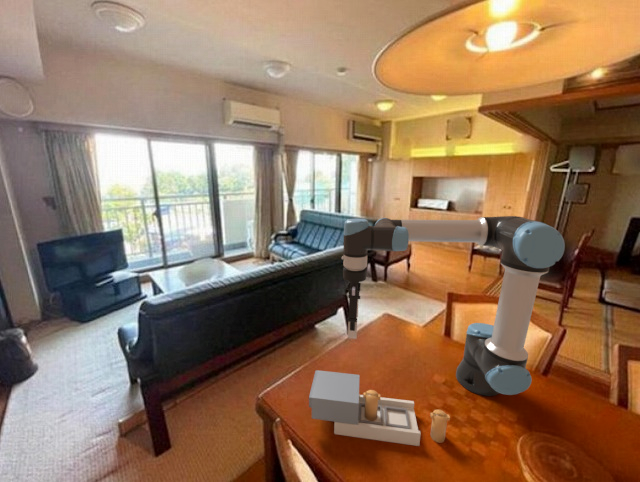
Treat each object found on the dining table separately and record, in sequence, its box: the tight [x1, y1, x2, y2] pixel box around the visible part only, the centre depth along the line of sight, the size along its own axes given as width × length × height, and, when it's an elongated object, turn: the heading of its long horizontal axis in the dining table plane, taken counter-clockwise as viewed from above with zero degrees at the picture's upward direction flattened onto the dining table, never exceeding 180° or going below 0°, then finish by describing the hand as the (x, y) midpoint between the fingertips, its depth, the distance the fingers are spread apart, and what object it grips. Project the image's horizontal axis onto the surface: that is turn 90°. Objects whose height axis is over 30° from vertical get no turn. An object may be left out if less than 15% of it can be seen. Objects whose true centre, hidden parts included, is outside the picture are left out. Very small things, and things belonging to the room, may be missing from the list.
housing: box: [333, 394, 422, 447], centre depth 89 cm, size 25×12×4 cm, turn 81°
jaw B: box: [429, 409, 451, 444], centre depth 84 cm, size 5×4×8 cm
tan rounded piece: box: [362, 389, 381, 421], centre depth 88 cm, size 5×4×8 cm
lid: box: [308, 369, 360, 425], centre depth 90 cm, size 15×12×8 cm
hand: (353, 326), depth 95 cm, fingers open, 13 cm apart
